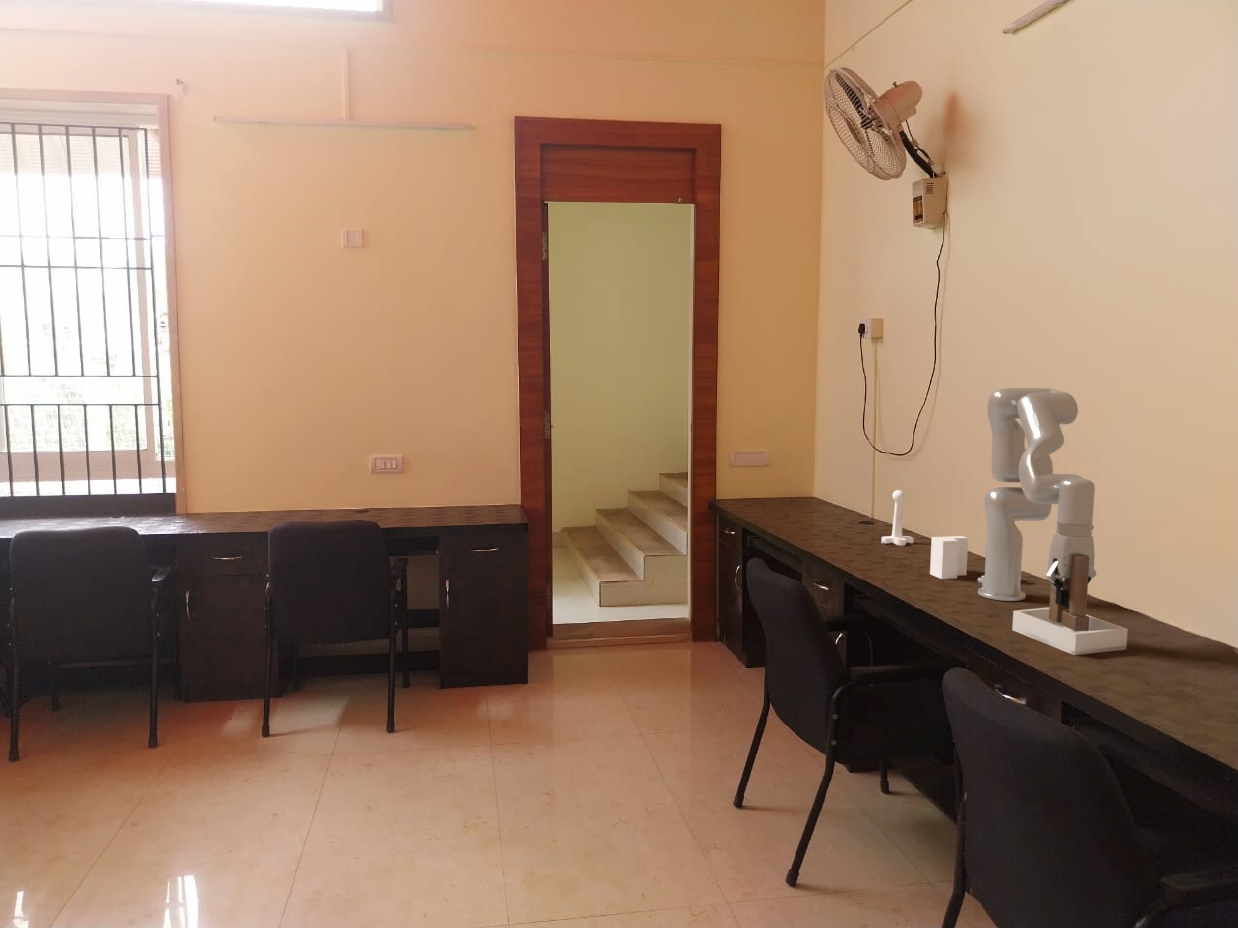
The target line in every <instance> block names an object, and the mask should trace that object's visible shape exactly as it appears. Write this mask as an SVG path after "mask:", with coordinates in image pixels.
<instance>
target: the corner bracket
mask: <svg viewBox="0 0 1238 928" xmlns="http://www.w3.org/2000/svg"><path fill="white" fill-rule="evenodd" d="M968 545H969V537H966V536H963V535H954V536H953V535H952V536H950V535H949V536H932V537H931V545H930V566H929V567H930V568H929V575H931V576H932V577H933V576H934V577H936V578H938V579H940V580H950V579H951V580H953V579H958V576H967V572H968V571H967V569H968V568H967V567H968V566H967V565H968V551H969V550H968V548H969V547H968Z"/></svg>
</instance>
